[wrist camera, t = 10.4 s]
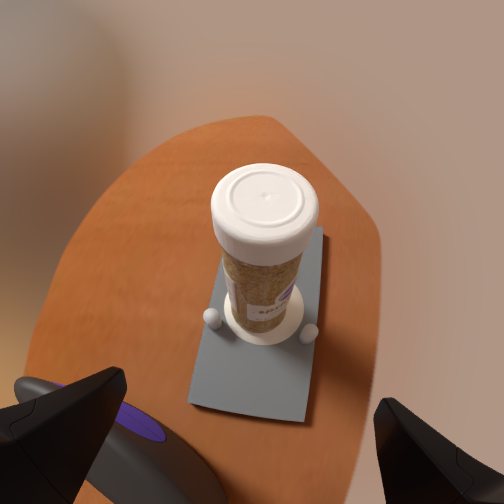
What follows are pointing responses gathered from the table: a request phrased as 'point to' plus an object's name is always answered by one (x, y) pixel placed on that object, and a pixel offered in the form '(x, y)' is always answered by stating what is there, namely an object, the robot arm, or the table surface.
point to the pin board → (261, 351)
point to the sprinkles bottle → (262, 239)
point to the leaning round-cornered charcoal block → (141, 459)
